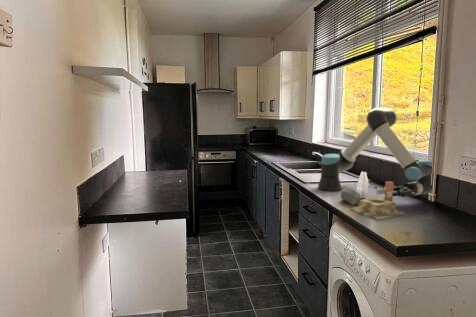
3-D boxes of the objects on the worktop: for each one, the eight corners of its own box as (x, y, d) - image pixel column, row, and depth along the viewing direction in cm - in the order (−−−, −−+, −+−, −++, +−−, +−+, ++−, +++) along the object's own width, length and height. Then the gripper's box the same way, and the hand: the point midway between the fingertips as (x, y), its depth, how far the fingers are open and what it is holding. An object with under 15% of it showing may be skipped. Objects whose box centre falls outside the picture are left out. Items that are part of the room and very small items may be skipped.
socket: (350, 210, 171) (351, 199, 170) (375, 205, 179) (376, 195, 178) (377, 220, 155) (378, 208, 154) (403, 215, 162) (404, 203, 161)
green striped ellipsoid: (334, 194, 192) (344, 180, 188) (348, 200, 194) (357, 187, 190) (341, 205, 179) (352, 191, 176) (355, 212, 181) (366, 198, 178)
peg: (382, 206, 177) (383, 181, 175) (387, 205, 178) (389, 181, 176) (388, 208, 173) (390, 183, 171) (393, 207, 175) (395, 182, 173)
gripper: (427, 199, 174) (396, 204, 164) (397, 191, 191) (368, 196, 181) (428, 185, 173) (397, 190, 163) (397, 179, 190) (368, 183, 180)
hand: (382, 193), depth 172 cm, fingers open, 6 cm apart
